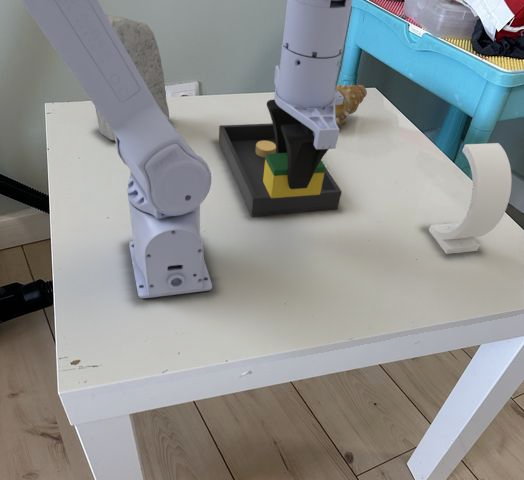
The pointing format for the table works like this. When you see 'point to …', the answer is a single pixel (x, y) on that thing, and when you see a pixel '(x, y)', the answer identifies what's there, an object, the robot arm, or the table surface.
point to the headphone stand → (479, 199)
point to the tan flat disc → (265, 148)
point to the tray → (252, 172)
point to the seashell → (349, 101)
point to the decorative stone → (139, 62)
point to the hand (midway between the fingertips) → (292, 177)
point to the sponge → (278, 178)
